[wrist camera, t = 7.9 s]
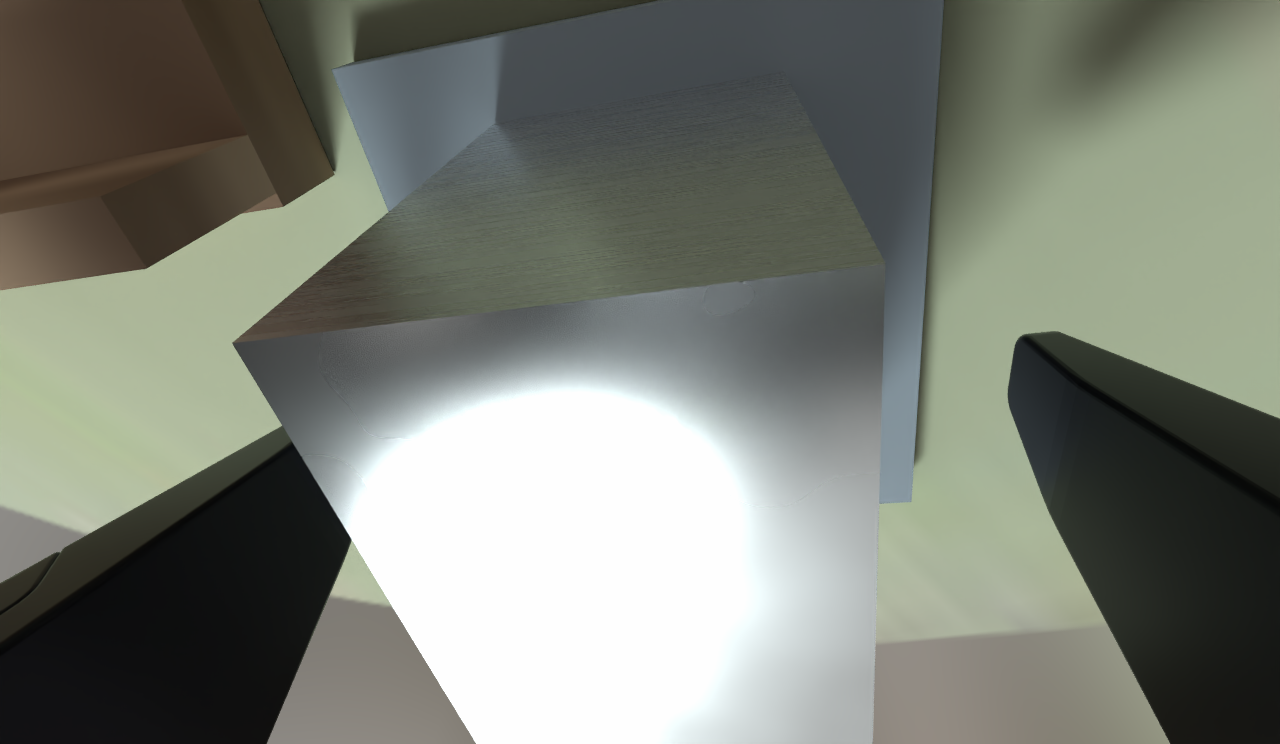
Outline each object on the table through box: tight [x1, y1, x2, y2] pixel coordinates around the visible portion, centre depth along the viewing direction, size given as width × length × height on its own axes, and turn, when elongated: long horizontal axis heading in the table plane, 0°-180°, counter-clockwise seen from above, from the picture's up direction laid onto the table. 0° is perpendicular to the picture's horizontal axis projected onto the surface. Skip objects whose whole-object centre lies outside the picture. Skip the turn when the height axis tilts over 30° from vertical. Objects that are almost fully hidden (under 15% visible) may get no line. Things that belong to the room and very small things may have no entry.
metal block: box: [232, 71, 886, 744], centre depth 8 cm, size 4×7×6 cm, turn 10°
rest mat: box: [331, 0, 944, 504], centre depth 11 cm, size 8×9×1 cm
